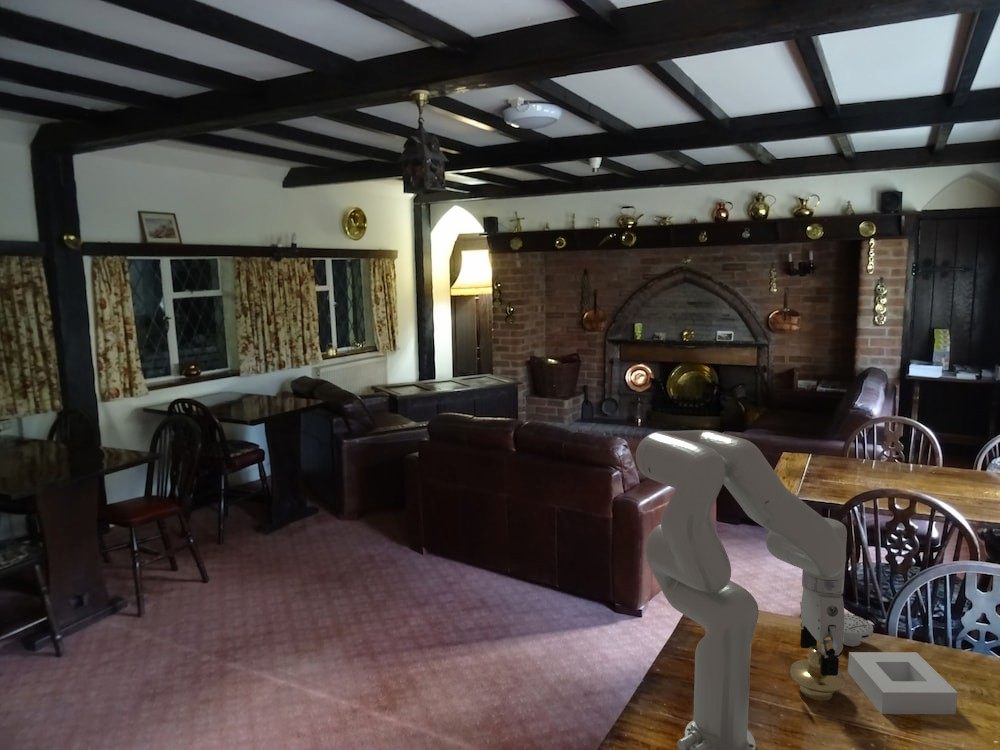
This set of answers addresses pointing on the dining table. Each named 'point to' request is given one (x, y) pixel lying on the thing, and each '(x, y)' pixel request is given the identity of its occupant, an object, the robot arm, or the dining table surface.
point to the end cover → (815, 677)
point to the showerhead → (856, 630)
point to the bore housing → (902, 683)
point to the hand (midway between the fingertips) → (818, 660)
